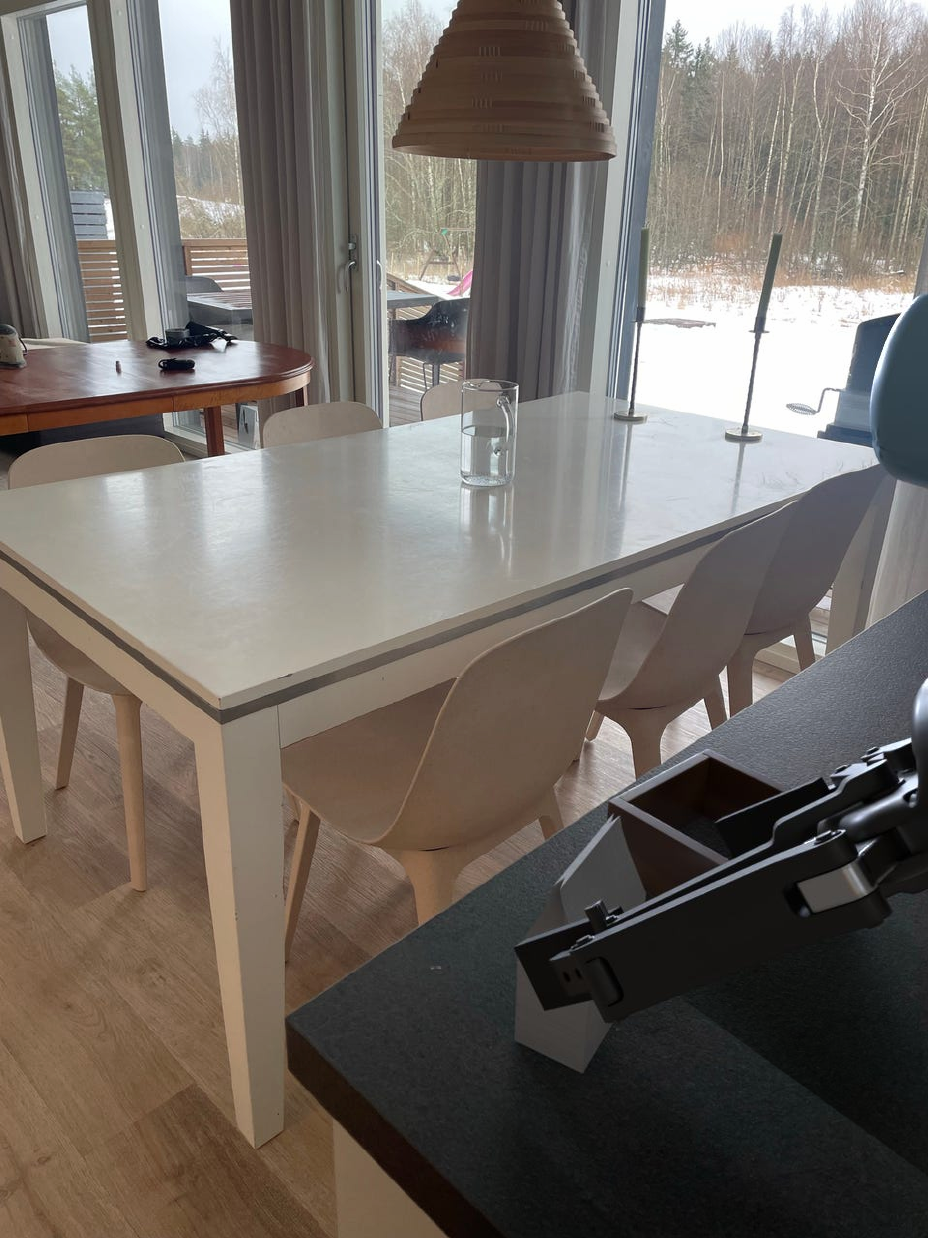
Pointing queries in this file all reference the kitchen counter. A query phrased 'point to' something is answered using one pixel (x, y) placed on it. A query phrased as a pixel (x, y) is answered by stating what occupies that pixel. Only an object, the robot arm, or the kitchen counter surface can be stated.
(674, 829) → the holder
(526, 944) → the robot arm
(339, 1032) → the kitchen counter surface
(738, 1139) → the kitchen counter surface
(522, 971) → the white faceted block
